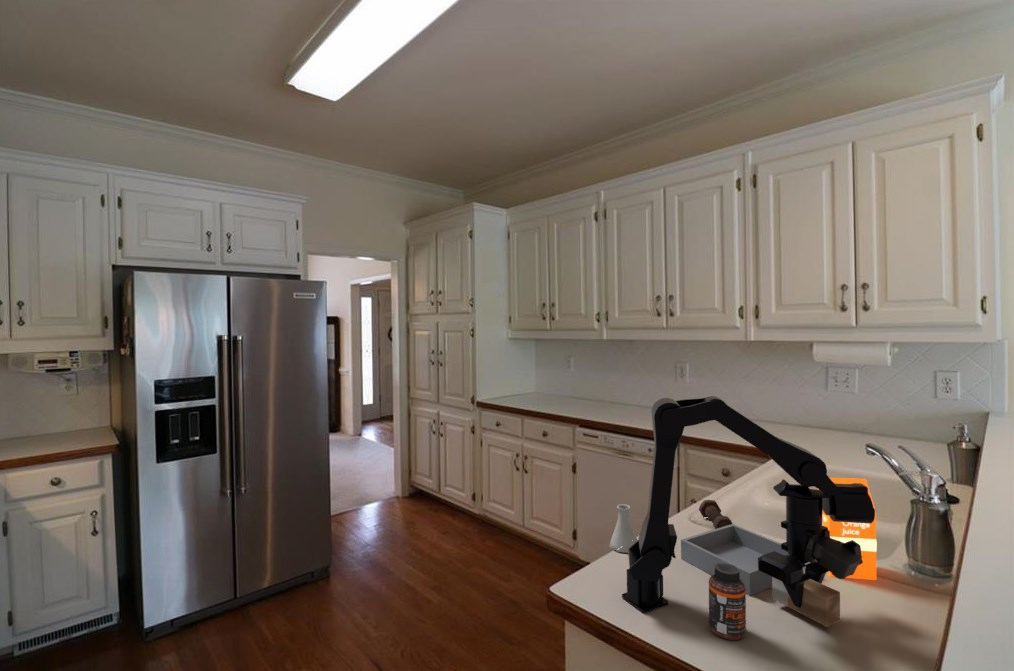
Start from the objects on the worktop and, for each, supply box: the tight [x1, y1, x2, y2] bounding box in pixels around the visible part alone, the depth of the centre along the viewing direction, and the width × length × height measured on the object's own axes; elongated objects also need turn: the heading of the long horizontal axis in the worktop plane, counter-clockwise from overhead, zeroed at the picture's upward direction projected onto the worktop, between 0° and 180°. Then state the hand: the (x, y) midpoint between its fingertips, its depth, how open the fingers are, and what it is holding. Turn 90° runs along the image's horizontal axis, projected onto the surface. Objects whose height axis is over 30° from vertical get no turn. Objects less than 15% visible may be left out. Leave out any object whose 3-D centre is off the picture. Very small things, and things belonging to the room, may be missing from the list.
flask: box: [608, 503, 639, 554], centre depth 119 cm, size 7×7×10 cm
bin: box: [680, 523, 788, 597], centre depth 108 cm, size 18×18×4 cm
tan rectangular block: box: [771, 577, 841, 627], centre depth 90 cm, size 4×10×5 cm, turn 27°
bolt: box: [698, 499, 734, 529], centre depth 128 cm, size 6×5×15 cm
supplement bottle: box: [708, 563, 747, 641], centre depth 86 cm, size 6×6×11 cm
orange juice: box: [817, 477, 878, 581], centre depth 106 cm, size 8×9×20 cm
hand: (804, 603), depth 90 cm, fingers closed on tan rectangular block, 4 cm apart
